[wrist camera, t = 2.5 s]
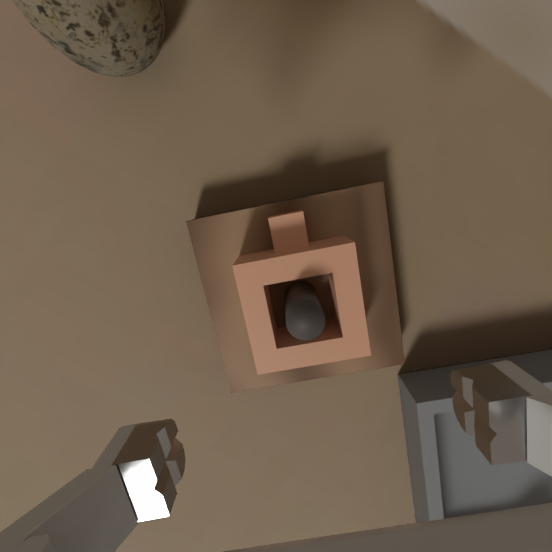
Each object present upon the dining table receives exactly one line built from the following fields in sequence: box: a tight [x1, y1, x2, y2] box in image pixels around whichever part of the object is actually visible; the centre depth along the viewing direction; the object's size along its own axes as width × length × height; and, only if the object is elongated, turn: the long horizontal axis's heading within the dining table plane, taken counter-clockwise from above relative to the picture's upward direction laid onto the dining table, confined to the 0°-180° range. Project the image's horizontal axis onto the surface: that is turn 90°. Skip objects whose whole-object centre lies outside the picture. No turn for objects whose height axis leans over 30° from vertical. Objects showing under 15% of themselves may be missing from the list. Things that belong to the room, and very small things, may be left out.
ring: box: [232, 210, 371, 375], centre depth 20 cm, size 7×9×3 cm
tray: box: [398, 349, 552, 523], centre depth 24 cm, size 16×16×4 cm
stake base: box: [186, 181, 405, 393], centre depth 20 cm, size 12×12×6 cm
